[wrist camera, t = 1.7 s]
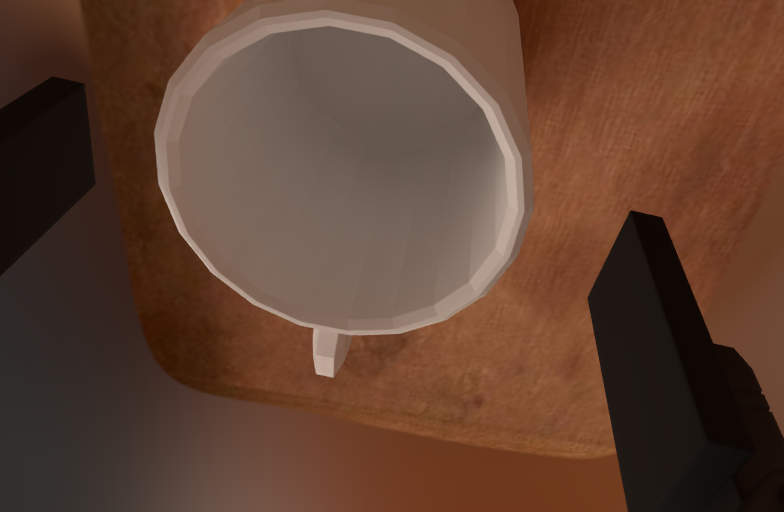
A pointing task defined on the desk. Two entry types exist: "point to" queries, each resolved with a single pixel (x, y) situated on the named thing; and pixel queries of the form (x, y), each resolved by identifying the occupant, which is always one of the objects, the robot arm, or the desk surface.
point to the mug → (352, 159)
